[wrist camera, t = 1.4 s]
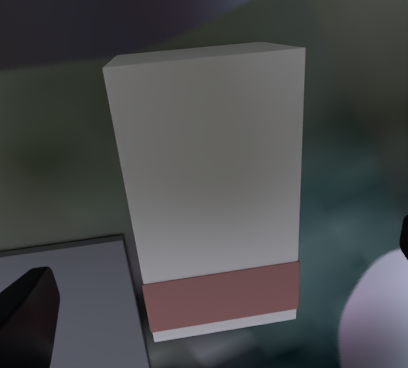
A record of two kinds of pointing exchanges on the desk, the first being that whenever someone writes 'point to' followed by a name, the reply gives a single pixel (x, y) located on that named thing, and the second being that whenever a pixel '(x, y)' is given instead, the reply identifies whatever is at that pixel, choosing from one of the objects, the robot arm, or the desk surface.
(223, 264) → the card deck box
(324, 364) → the desk surface
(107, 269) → the desk mat
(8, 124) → the desk surface
